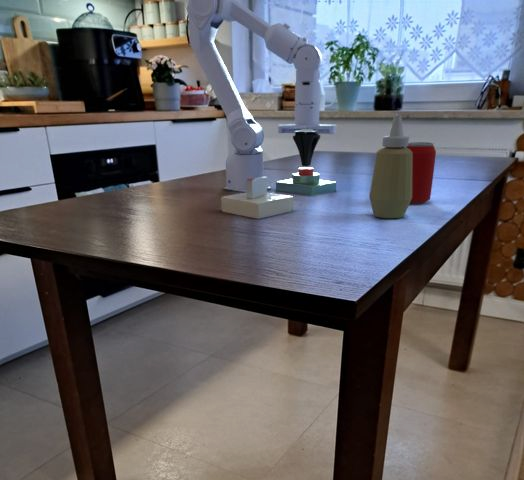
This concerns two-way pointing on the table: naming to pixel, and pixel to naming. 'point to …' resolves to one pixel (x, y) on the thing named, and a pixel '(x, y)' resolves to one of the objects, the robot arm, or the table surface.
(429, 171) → the beverage can
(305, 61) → the robot arm
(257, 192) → the block
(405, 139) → the squeeze bottle
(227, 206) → the base
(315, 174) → the button box
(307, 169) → the button
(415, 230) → the table surface
